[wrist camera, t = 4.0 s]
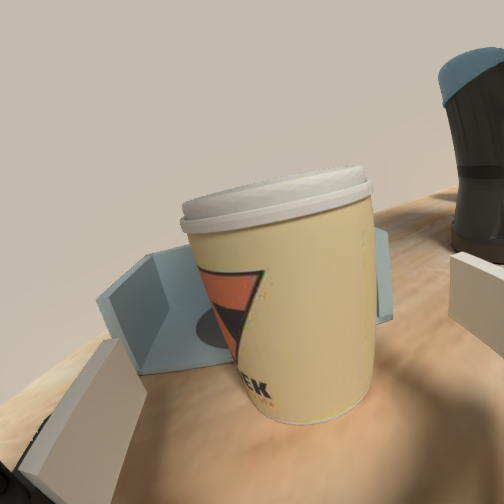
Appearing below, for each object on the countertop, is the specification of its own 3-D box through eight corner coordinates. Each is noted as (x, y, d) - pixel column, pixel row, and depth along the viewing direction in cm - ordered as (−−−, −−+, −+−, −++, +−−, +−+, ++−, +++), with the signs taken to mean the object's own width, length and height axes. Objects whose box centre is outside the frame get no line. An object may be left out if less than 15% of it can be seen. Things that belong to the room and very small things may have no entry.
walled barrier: (340, 269, 33) (331, 211, 32) (392, 319, 20) (387, 231, 19) (164, 310, 33) (146, 255, 32) (130, 376, 21) (95, 299, 19)
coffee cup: (227, 364, 20) (178, 202, 17) (341, 325, 22) (316, 169, 19) (255, 460, 11) (168, 210, 9) (415, 389, 13) (411, 158, 10)
